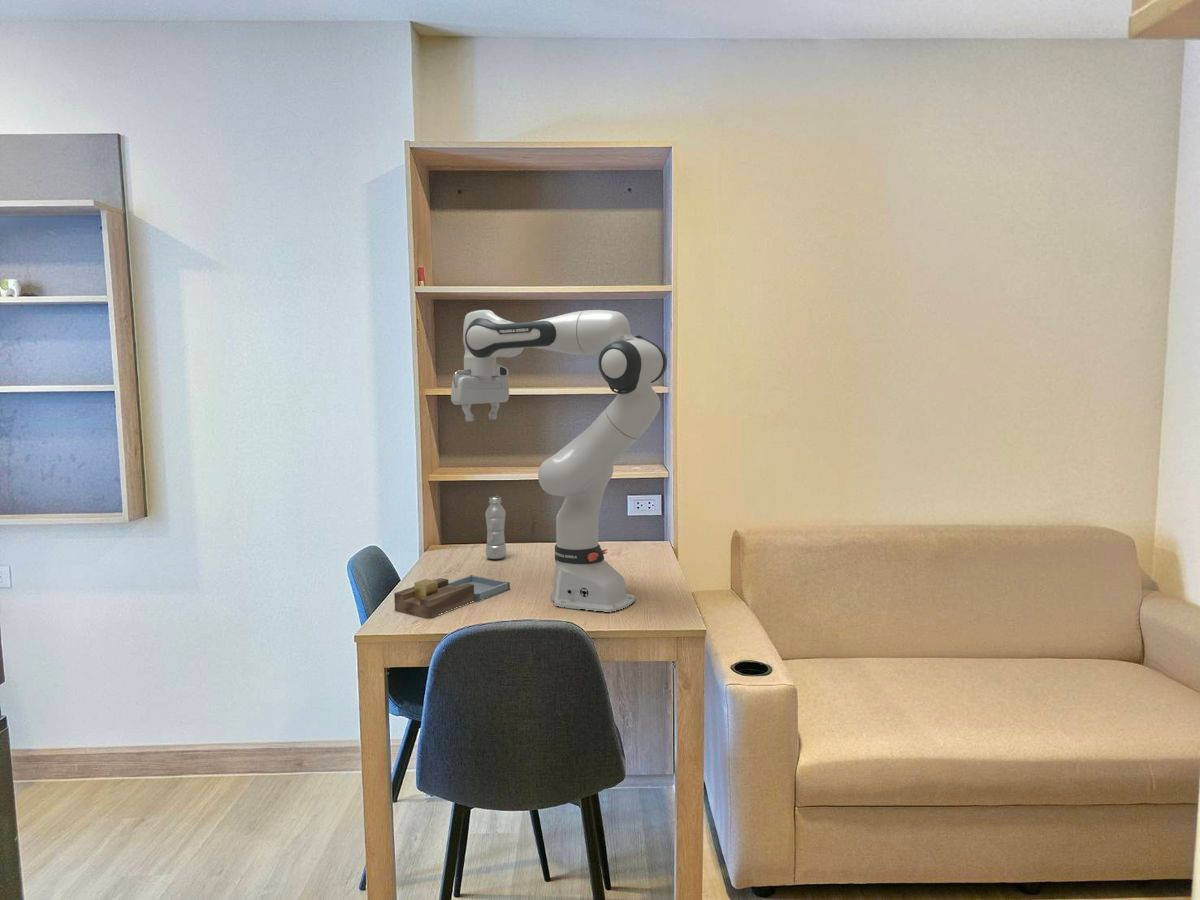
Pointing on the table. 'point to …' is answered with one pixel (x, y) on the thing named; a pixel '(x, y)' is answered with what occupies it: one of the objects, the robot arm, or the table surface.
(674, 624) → the table surface
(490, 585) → the tray
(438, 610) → the slotted board
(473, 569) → the table surface
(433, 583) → the brass block
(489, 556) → the plastic bottle
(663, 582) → the table surface
